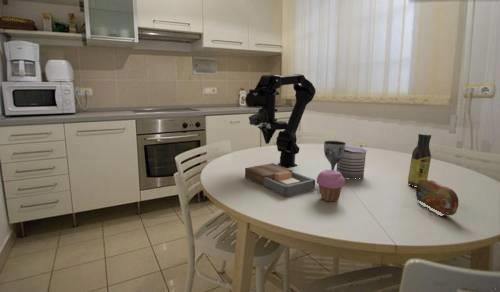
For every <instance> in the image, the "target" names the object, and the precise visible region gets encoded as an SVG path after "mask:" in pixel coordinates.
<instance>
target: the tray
mask: <svg viewBox="0 0 500 292" xmlns="http://www.w3.org/2000/svg"><path fill="white" fill-rule="evenodd" d="M292 178H294V179H296V180H299V181H300V183H296V184H292V185H287V186H285V185H283V184H281V183H278V182H276V181H274V180H272V179H269V178H267V177H264V184H263V186H262V187H263V188H265V189H267V190H269V191H272V192H274V193H276V194H278V195H280V196H282V197H284V198H287V197H291V196H295V195H298V194H302V193H306V192H310V191H314V190H316V179H314V178H311V177H309V176H305V175H303V174H301V173H298V172H294V171H292Z"/></svg>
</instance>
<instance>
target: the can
mask: <svg viewBox="0 0 500 292" xmlns="http://www.w3.org/2000/svg"><path fill="white" fill-rule="evenodd" d="M367 152H368V150H366V149H365V148H362V147H358V146H354V145H347V144H346V146H345V152H344V155H343V157H342V159H341V160H340V161H339V162H338V163H337V164H336V170H335V171H339V172H340V173H341V174H342V176H343V178H344V179H345V178H349V179H348V180H354V179H355V178H356V179H359V178H362V177H363V178H364V176H365V175H364V174H365V166H366V156H367ZM363 178H362V179H363ZM359 180H360V179H359Z"/></svg>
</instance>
